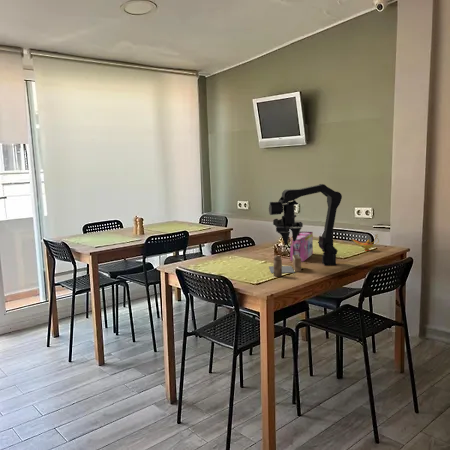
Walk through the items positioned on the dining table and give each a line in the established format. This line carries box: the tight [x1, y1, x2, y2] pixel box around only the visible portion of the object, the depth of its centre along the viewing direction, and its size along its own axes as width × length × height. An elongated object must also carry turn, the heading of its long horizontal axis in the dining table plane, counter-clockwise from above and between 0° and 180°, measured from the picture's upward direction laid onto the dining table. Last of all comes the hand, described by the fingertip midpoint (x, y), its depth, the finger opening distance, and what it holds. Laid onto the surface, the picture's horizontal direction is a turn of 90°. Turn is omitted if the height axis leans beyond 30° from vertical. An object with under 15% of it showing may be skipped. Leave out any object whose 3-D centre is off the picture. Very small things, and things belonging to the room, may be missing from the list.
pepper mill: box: [273, 255, 283, 278], centre depth 222 cm, size 4×4×10 cm
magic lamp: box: [350, 234, 380, 251], centre depth 275 cm, size 7×18×11 cm, turn 52°
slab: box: [292, 255, 302, 273], centre depth 234 cm, size 3×10×7 cm, turn 179°
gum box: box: [289, 231, 314, 262], centre depth 262 cm, size 24×8×14 cm, turn 156°
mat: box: [268, 265, 296, 274], centre depth 234 cm, size 12×14×1 cm
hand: (290, 242), depth 239 cm, fingers open, 9 cm apart
